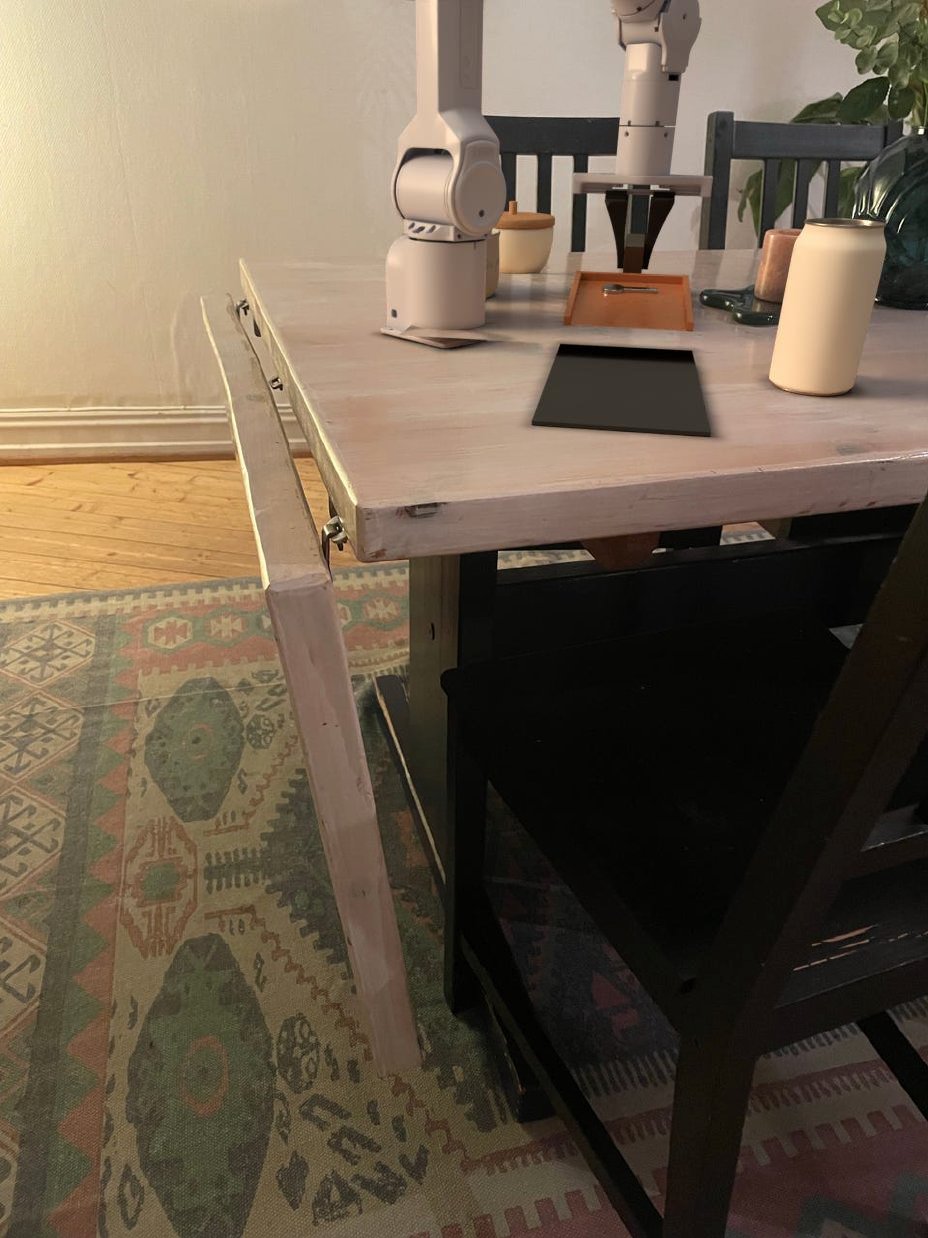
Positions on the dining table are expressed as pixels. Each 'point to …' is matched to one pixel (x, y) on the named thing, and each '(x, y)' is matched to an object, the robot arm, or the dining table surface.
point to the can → (827, 305)
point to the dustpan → (631, 297)
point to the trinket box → (524, 240)
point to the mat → (623, 391)
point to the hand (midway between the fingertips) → (632, 267)
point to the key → (627, 289)
